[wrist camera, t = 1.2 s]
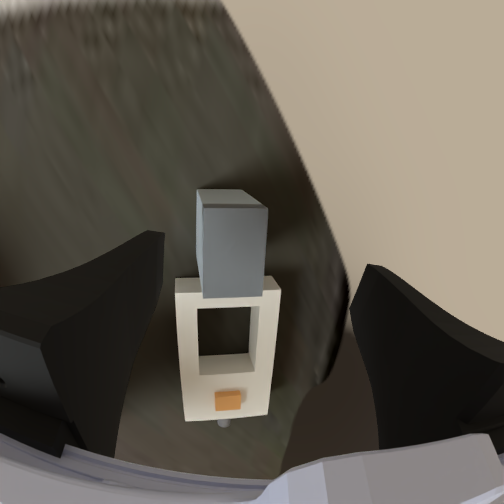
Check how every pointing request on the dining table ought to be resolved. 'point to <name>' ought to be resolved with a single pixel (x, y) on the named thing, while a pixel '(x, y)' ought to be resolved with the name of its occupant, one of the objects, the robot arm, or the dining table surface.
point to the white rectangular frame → (226, 356)
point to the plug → (230, 243)
